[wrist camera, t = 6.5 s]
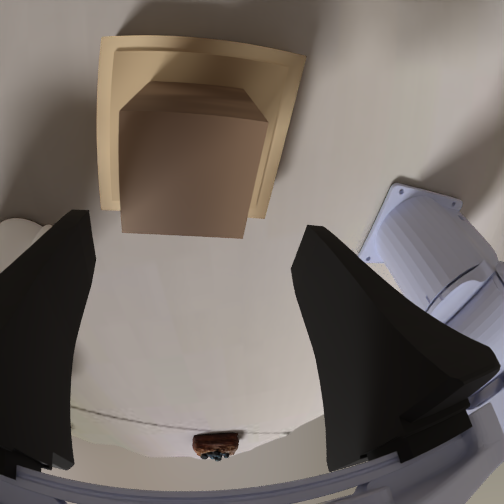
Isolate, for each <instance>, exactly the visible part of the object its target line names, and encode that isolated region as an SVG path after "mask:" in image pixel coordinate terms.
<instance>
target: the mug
mask: <svg viewBox="0 0 504 504" xmlns="http://www.w3.org/2000/svg"><path fill="white" fill-rule="evenodd" d="M51 227H52V225H45V226H43V227H42V226H41V225H39V224H37V223H35V222H33V221H30V220H27V219H22V218H11V219H7V220H5V221H3V222H1V223H0V273H1V272H2V271H3V270H5V269H6V268H7V267H8V266H9V265H10V264H11V263H12V262H14V261H15V260H16V259H17V258H18V257H19V256H20V255H21V254H22V253H24V252H25V251H26V250H27V249H28V248H29V247H30V246H31V245H32V244H34V243H35V242H36V241H37V240H38V239H39V238H40V237H41V236H42V235H43V234H44V233H46V232H47V231H48V230H49V229H50V228H51Z"/></svg>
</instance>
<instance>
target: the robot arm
mask: <svg viewBox="0 0 504 504" xmlns="http://www.w3.org/2000/svg"><path fill="white" fill-rule="evenodd" d="M401 189H402V190H401ZM400 190H401V191H400ZM399 191H400V192H399ZM462 205H463V202H462V201H461V200H460V199H457V198H453V197H450V196H446V195H443V194H439V193H435V192H432V191H428V190H424V189H420V188H416V187H412V186H408V185H404V184H400V183H394V184H393V185H392V186H391V187H390V189H389V192H388V194H387V196H386V198H385V201H384V203H383V205H382V207H381V209H380V212H379V214H378V216H377V218H376V220H375V222H374V224H373V226H372V228H371V231H370V233H369V235H368V237H367V239H366V241H365V243H364V245H363V247H362V249H361V251H360V253H359V255H358V256H357V255H356V254H355V253H354V252H353V251H351V250H350V249H349V248H348V247H347V246H346V245H345V244H344V243H343V242H342V241H341V240H339V239H338V238H337V237H336V236H335V235H334V234H332V233H331V232H330V231H329V230H327V229H326V228H325V227H323V226H314V225H307V227H306V230H305V233H304V235H303V238H302V241H301V243H300V246H299V249H298V251H297V254H296V257H295V259H294V262H293V264H292V267H291V273H292V279H293V285H294V290H295V295H296V298H297V301H298V304H299V307H300V310H301V314H302V317H303V320H304V323H305V326H306V329H307V332H308V335H309V338H310V341H311V344H312V347H313V351H314V355H315V358H316V364H317V369H318V374H319V379H320V386H321V392H322V399H323V407H324V417H325V427H326V448H327V465H328V469H329V471H330V472H331V473H327V474H323V475H319V476H315V477H310V478H306V479H301V480H296V481H290V482H285V483H280V484H273V485H266V486H259V487H251V488H242V489H231V490H216V491H178V492H177V491H152V490H137V489H126V488H118V487H110V486H103V485H97V484H91V483H85V482H80V481H75V480H70V479H65V478H61V477H57V476H53V475H49V474H45V473H42V472H41V468H44V469H48V470H52V467H55V468H59V469H63V470H68V469H70V468H71V467H72V466H73V465H74V458H73V449H72V439H71V423H70V392H71V374H72V363H73V354H74V349H75V343H76V339H77V335H78V331H79V327H80V323H81V320H82V316H83V312H84V309H85V305H86V302H87V298H88V295H89V291H90V288H91V284H92V279H93V274H94V268H95V263H96V255H95V249H94V243H93V237H92V230H91V223H90V216H89V210H71V211H70V212H69V213H67V214H66V215H65V216H64V217H62V218H61V219H60V220H59V221H58V222H57V223H55V224H54V225H53V226H52V227H51V228H50V229H49V230H48V231H47V232H46V233H44V234H43V235H42V236H41V237H40V238H39V239H38V240H37V241H36V242H35V243H34V244H32V245H31V246H30V247H29V248H28V249H27V250H26V251H25V252H24V253H22V254H21V255H20V256H19V257H18V258H17V259H16V260H15V261H14V262H12V263H11V264H10V265H9V266H8V267H7V268H6V269H5V270H3V271H2V272H1V273H0V504H67V503H66V502H65V501H68V502H72V503H77V504H292V503H297V502H301V501H306V500H310V499H314V498H318V497H322V496H325V495H329V494H333V493H336V492H340V491H343V490H346V489H349V488H352V487H355V486H358V487H357V488H356V490H355V492H354V494H352V495H348V496H344V497H340V498H337V499H332V500H329V501H325V502H322V503H318V504H465V503H466V502H467V501H468V500H469V499H470V498H471V496H472V495H473V494H474V493H475V492H476V490H477V489H478V488H479V487H480V486H481V485H482V483H483V482H484V481H485V480H486V479H487V478H488V477H489V475H490V474H491V473H492V472H493V471H494V470H495V469H496V468H497V467H498V466H499V465H500V464H501V463H502V462H504V262H502V261H498V258H497V255H496V253H495V251H494V249H493V248H492V247H491V245H490V244H489V243H488V242H487V241H486V240H485V239H484V237H483V236H482V235H481V234H480V233H479V232H478V231H477V230H476V229H475V227H474V226H473V225H472V224H471V223H470V222H469V221H468V220H467V219H466V218H465V217H464V216H463V215H462V214H461V213H460V212H459V211H460V209H461V207H462ZM366 263H385V265H386V267H387V268H388V270H389V271H390V273H391V275H392V276H393V278H394V280H395V281H396V283H397V285H398V286H399V288H400V290H401V291H402V293H403V295H404V296H403V295H402V294H401V293H399V292H398V291H397V290H396V289H394V288H393V287H392V286H391V285H390V284H388V283H387V282H386V281H385V280H384V279H383V278H381V277H380V276H379V275H378V274H377V273H376V272H375V271H373V270H372V269H371V268H370V267H369V266H368V265H367V264H366ZM366 461H368V462H366ZM363 462H365V463H363ZM359 463H362V464H359ZM356 464H358V465H356ZM353 465H355V466H353ZM350 466H352V467H350ZM346 467H349V468H346ZM343 468H345V469H343ZM339 469H342V470H339ZM335 470H338V471H335ZM332 471H334V472H332Z"/></svg>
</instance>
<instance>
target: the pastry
mask: <svg viewBox="0 0 504 504" xmlns="http://www.w3.org/2000/svg"><path fill="white" fill-rule="evenodd" d="M237 435H238V433H217V434H204V435H194V437H193V445H192V446H193V449H194V451H195V452H196V453H197V455H199V456H200V457H201V458H202V459H207V458H208V457H210V458H211V459H215V461H220V460H221V458H222V456H224V458H228V457H229V455H234V453H235V451H236V450H237V449H238V445H239V444H238V443H239V440H238V437H237Z"/></svg>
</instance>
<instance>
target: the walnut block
mask: <svg viewBox="0 0 504 504" xmlns="http://www.w3.org/2000/svg"><path fill="white" fill-rule="evenodd" d="M268 124H269V122H268V121H267V119H266V118H265V117H264V115H263V114H262V113H261V111H260V110H259V109H258V107H257V106H256V105H255V103H254V102H253V101H252V99H251V98H250V97H249V95H248V94H247V93H246V92H245V90H244V89H241V88H234V87H226V86H217V85H207V84H196V83H183V82H164V81H150V82H149V83H147V84H146V85H145V86H144V87H143V88H142V89H141V90H140V91H139V92H138V93H137V94H136V95H135V96H134V97H133V98H132V99H131V100H130V101H129V102H128V103H127V104H126V105H125V106H124V107H123V108H122V109H121V110H120V111H119V135H118V161H119V193H120V211H121V225H122V233H138V234H160V235H182V236H202V237H221V238H240V239H243V235H244V231H245V226H246V222H247V217H248V212H249V208H250V203H251V199H252V194H253V190H254V186H255V181H256V177H257V172H258V168H259V163H260V159H261V155H262V150H263V146H264V141H265V137H266V133H267V128H268Z"/></svg>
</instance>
